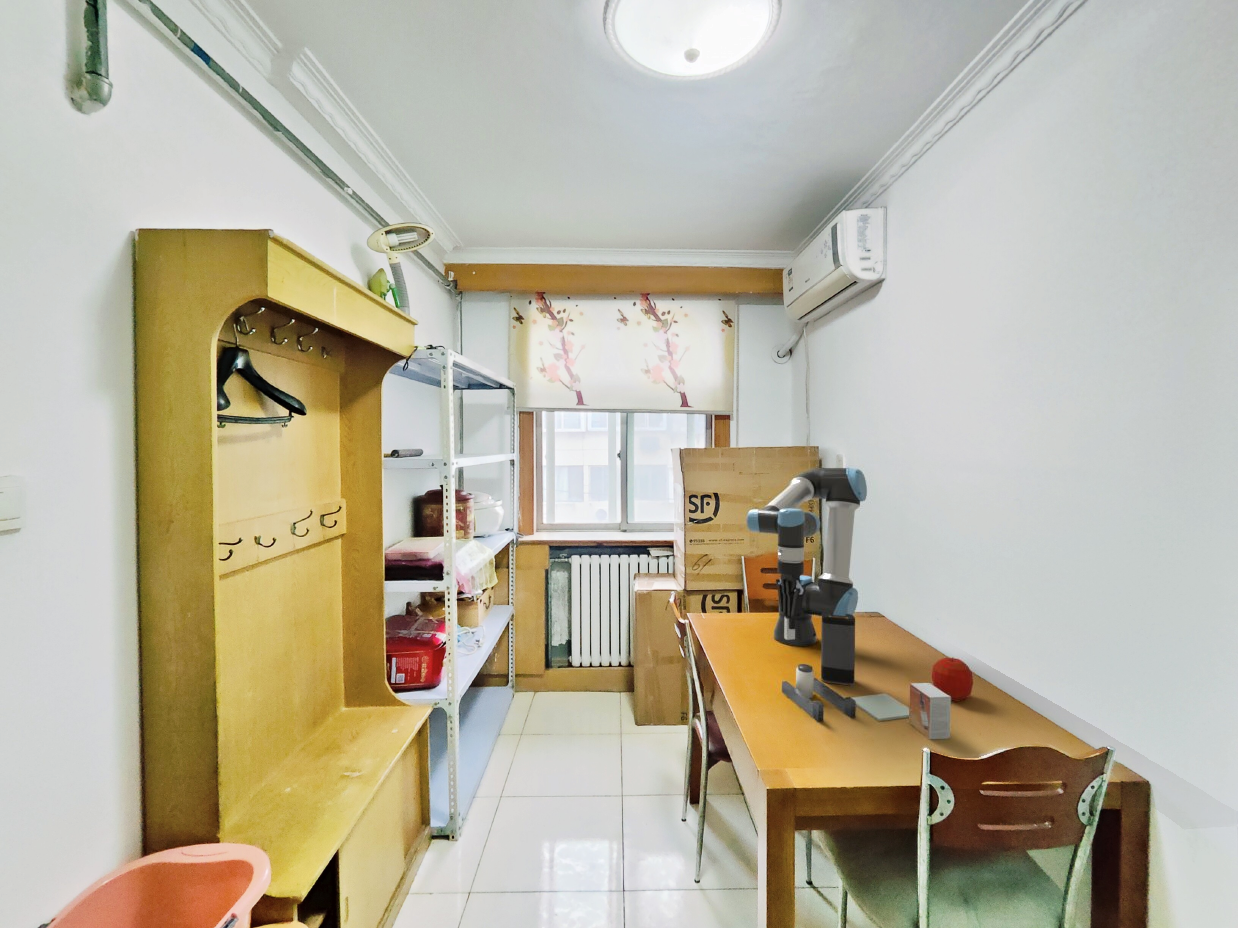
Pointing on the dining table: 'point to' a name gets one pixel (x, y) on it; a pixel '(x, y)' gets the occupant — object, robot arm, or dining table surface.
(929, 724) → the small box
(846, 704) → the channel
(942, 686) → the apple
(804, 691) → the white cylindrical piece
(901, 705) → the pad
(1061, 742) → the dining table surface
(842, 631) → the electronic device
